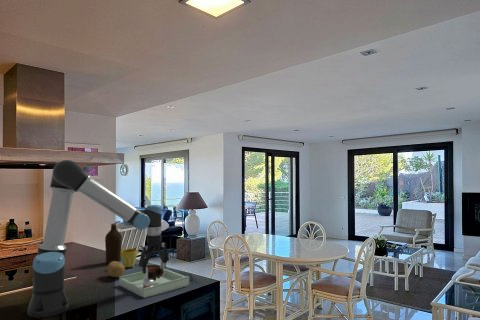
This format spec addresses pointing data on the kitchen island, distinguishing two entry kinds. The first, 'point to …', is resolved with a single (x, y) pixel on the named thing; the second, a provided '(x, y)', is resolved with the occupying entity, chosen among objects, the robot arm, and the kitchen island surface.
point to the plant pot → (129, 257)
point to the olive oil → (113, 244)
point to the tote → (160, 285)
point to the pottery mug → (154, 272)
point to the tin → (148, 283)
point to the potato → (115, 269)
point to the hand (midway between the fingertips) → (154, 277)
